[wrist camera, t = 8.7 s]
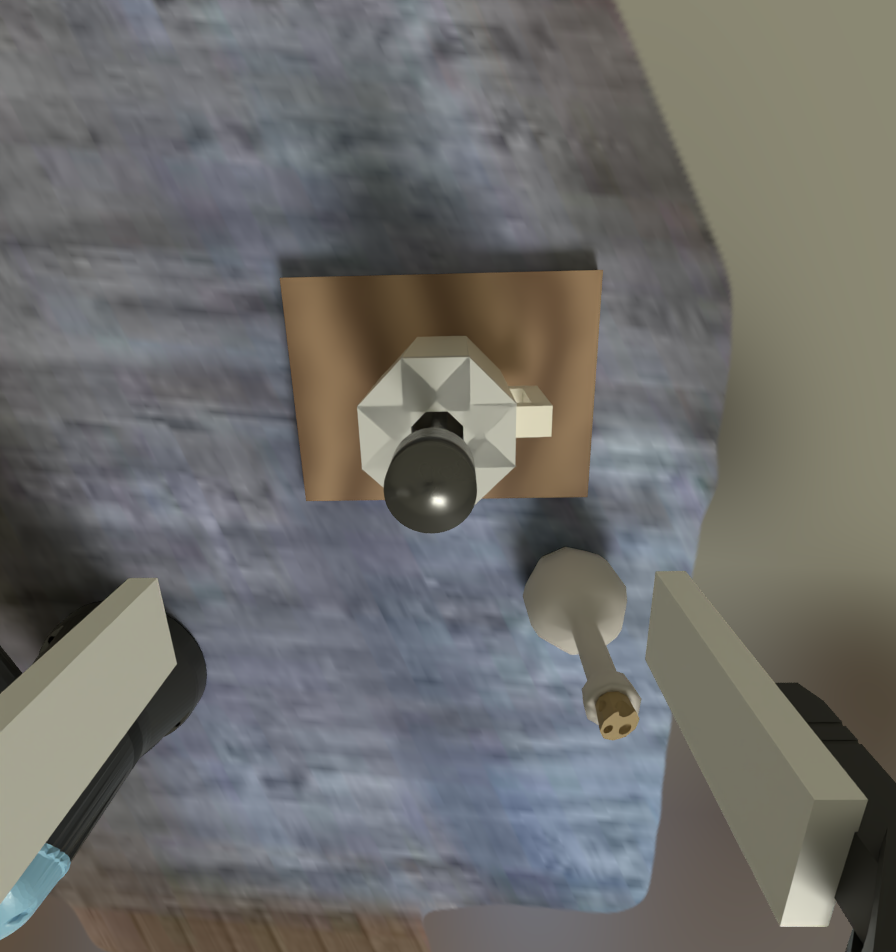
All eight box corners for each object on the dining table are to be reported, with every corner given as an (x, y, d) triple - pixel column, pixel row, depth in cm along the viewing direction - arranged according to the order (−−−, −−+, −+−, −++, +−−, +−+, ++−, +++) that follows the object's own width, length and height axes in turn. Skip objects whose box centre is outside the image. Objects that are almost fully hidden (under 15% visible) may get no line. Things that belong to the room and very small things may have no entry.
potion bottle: (533, 529, 49) (573, 659, 32) (628, 550, 49) (716, 689, 32) (508, 610, 52) (532, 769, 35) (597, 629, 52) (664, 795, 35)
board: (310, 494, 48) (306, 501, 47) (285, 278, 42) (279, 277, 41) (583, 490, 47) (587, 496, 46) (597, 270, 41) (602, 269, 40)
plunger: (418, 423, 43) (386, 533, 24) (415, 372, 41) (380, 446, 23) (468, 422, 43) (477, 532, 24) (468, 371, 41) (476, 445, 22)
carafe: (390, 449, 45) (364, 510, 33) (383, 337, 42) (352, 359, 30) (530, 447, 45) (557, 507, 33) (534, 333, 42) (565, 354, 30)
